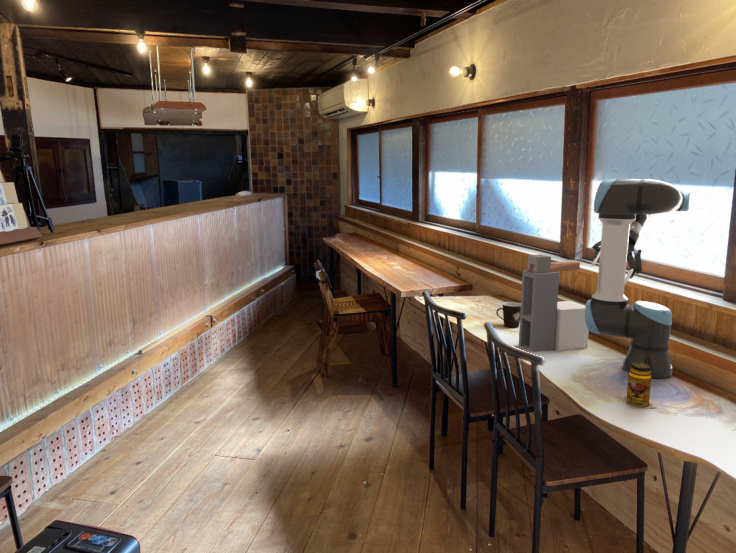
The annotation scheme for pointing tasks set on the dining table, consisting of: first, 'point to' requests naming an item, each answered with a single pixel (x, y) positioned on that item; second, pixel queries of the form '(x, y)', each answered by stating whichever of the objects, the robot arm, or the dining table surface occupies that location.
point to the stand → (538, 310)
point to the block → (570, 326)
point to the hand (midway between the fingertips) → (609, 273)
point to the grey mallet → (549, 264)
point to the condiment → (638, 386)
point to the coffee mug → (511, 314)
